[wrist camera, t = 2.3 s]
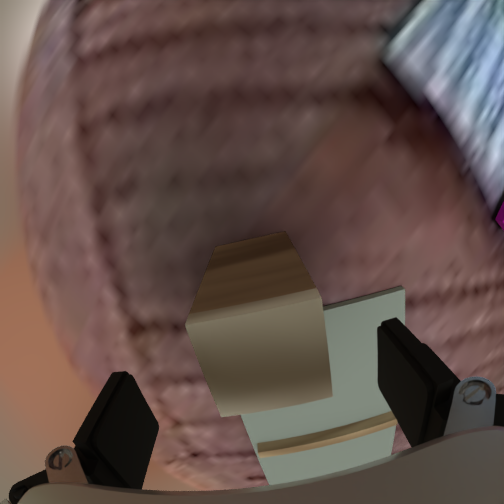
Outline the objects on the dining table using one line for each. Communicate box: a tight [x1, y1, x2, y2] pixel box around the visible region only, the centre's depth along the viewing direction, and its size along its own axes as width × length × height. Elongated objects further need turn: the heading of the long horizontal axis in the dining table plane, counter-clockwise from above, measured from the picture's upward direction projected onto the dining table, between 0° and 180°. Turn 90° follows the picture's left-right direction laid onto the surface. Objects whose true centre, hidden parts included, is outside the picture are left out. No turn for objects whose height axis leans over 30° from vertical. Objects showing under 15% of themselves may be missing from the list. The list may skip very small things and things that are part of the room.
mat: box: [241, 286, 405, 485], centre depth 23 cm, size 23×14×1 cm, turn 13°
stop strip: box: [257, 411, 398, 458], centre depth 23 cm, size 1×13×1 cm, turn 103°
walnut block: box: [185, 231, 333, 417], centre depth 15 cm, size 4×4×10 cm
